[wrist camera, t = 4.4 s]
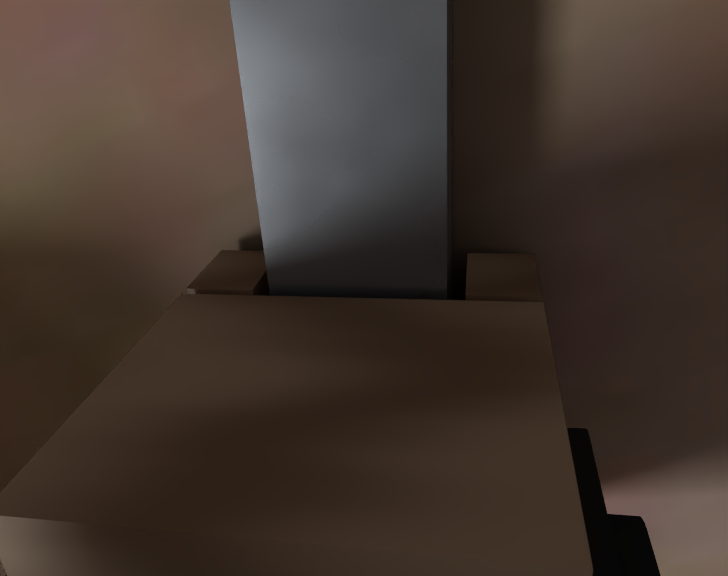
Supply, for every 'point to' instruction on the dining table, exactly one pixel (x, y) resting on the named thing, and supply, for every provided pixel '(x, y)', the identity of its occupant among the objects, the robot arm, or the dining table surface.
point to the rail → (350, 143)
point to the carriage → (314, 440)
